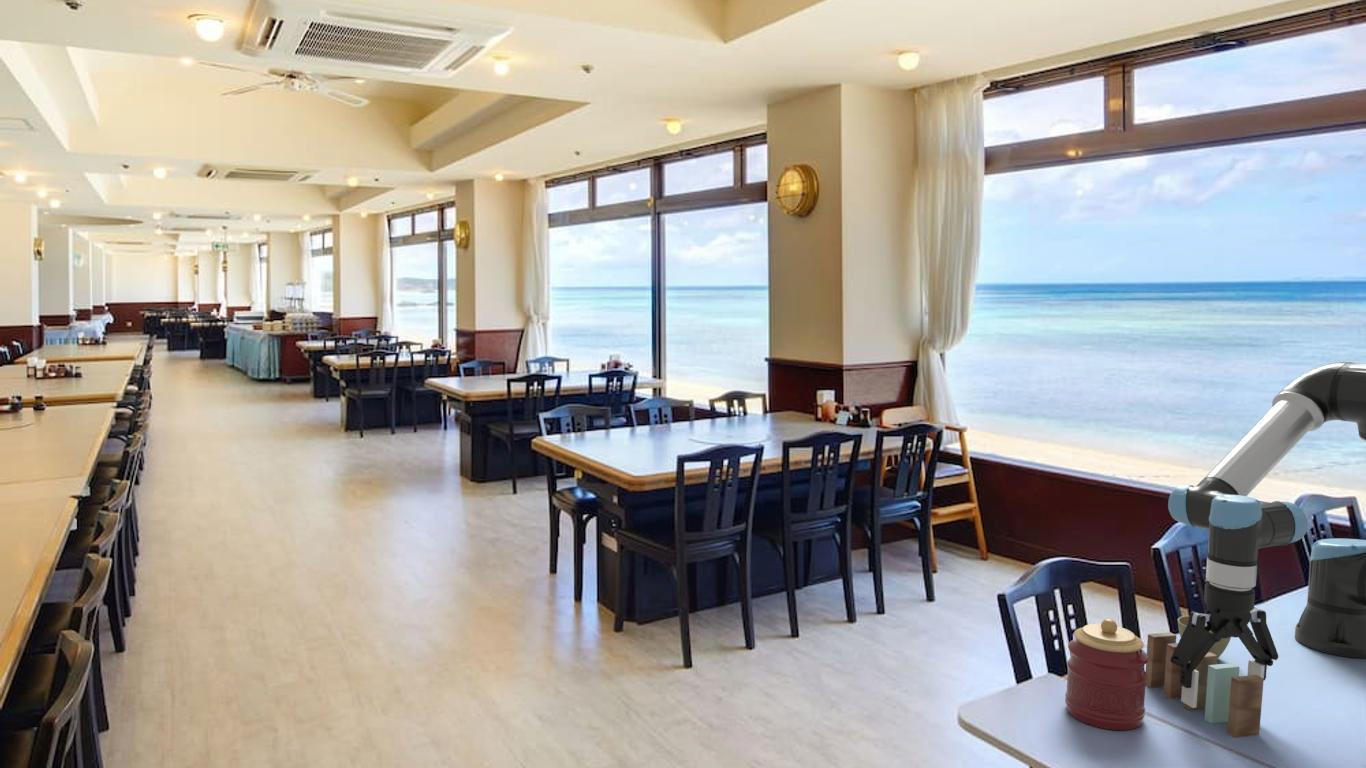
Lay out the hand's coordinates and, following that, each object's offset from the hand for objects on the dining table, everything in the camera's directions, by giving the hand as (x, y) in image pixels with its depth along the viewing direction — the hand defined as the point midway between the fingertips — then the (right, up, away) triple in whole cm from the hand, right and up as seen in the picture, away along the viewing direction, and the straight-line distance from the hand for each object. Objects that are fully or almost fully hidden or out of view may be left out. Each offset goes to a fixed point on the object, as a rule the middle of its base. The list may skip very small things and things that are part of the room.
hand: (1221, 701), depth 160 cm
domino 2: (-2, -3, +10) cm, 11 cm away
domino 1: (-3, -2, +15) cm, 15 cm away
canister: (-20, -3, +2) cm, 20 cm away
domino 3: (-1, -3, +5) cm, 6 cm away
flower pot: (+13, -1, +29) cm, 32 cm away
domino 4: (0, -4, 0) cm, 4 cm away
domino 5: (+1, -4, -5) cm, 6 cm away
